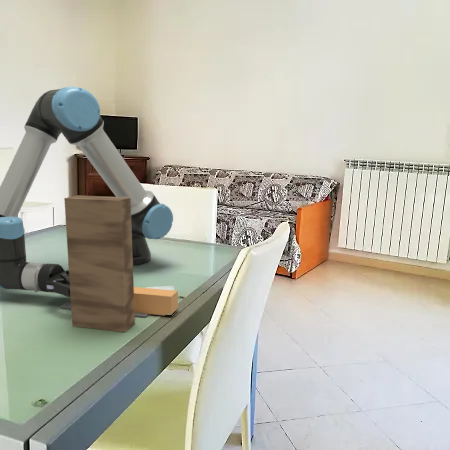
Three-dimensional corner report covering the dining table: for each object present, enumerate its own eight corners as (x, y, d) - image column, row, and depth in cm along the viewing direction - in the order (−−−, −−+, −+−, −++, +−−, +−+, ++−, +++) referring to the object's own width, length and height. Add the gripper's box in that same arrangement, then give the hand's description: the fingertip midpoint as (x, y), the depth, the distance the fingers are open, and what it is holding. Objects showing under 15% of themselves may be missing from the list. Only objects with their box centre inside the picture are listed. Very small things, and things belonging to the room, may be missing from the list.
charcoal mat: (76, 298, 127) (76, 296, 127) (158, 306, 121) (158, 305, 121) (59, 308, 119) (59, 307, 119) (145, 318, 113) (145, 316, 113)
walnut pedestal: (84, 318, 113) (77, 195, 108) (134, 323, 110) (130, 197, 104) (72, 326, 109) (64, 198, 103) (125, 332, 105) (120, 200, 100)
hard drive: (176, 300, 123) (173, 285, 135) (145, 301, 122) (145, 286, 134) (176, 306, 123) (173, 290, 135) (145, 307, 122) (145, 292, 134)
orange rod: (99, 301, 123) (98, 283, 122) (178, 309, 118) (177, 290, 117) (90, 307, 119) (89, 289, 118) (171, 316, 114) (171, 296, 113)
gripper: (70, 277, 136) (139, 282, 131) (15, 307, 113) (96, 314, 108) (68, 252, 135) (138, 256, 130) (12, 277, 112) (94, 283, 107)
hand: (119, 282), depth 119 cm, fingers open, 12 cm apart
